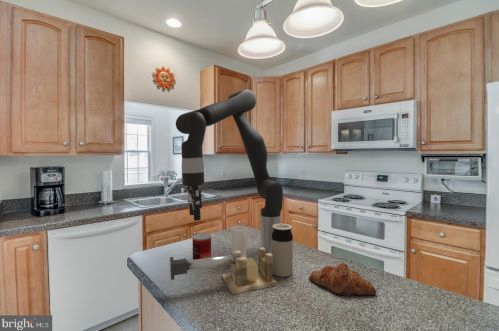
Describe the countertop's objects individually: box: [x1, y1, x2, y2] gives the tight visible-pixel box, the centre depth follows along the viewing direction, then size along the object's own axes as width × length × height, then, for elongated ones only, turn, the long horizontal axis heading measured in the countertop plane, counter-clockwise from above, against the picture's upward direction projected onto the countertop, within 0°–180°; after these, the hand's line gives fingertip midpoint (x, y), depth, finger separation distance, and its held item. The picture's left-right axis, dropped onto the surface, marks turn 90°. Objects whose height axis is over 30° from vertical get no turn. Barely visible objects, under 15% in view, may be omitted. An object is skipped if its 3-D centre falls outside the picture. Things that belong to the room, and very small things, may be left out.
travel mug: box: [272, 223, 294, 278], centre depth 96 cm, size 8×8×18 cm
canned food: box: [192, 232, 212, 260], centre depth 107 cm, size 8×8×11 cm
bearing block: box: [221, 246, 277, 295], centre depth 89 cm, size 16×12×10 cm
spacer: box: [246, 257, 258, 283], centre depth 90 cm, size 4×6×6 cm, turn 20°
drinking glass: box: [230, 225, 248, 258], centre depth 104 cm, size 7×7×15 cm
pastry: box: [308, 262, 377, 297], centre depth 86 cm, size 17×15×8 cm
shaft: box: [169, 253, 240, 281], centre depth 84 cm, size 23×6×5 cm, turn 110°
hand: (195, 217), depth 88 cm, fingers open, 8 cm apart
